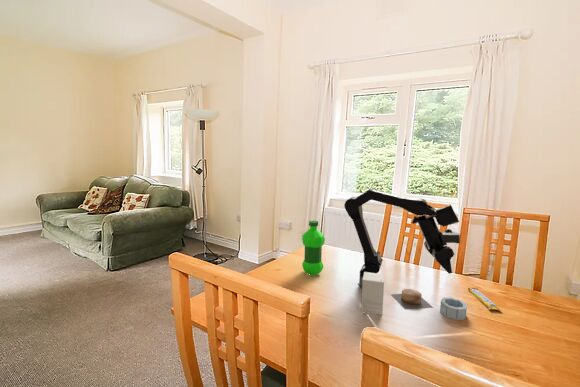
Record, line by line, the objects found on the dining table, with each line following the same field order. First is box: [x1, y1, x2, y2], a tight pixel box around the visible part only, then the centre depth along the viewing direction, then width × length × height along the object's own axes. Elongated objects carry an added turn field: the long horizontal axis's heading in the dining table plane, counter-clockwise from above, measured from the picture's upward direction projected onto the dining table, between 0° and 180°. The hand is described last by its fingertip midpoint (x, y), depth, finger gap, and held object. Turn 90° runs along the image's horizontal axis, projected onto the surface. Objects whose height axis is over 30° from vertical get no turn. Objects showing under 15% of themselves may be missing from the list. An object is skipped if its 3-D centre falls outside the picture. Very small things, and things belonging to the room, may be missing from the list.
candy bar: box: [467, 287, 503, 312], centre depth 112 cm, size 17×4×2 cm, turn 174°
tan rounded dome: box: [401, 288, 423, 305], centre depth 109 cm, size 7×7×3 cm
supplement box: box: [361, 272, 385, 316], centre depth 104 cm, size 7×7×13 cm
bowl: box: [439, 296, 468, 321], centre depth 101 cm, size 8×8×4 cm
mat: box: [390, 293, 434, 310], centre depth 110 cm, size 11×11×1 cm
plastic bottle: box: [301, 220, 326, 276], centre depth 133 cm, size 10×10×25 cm
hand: (446, 269), depth 107 cm, fingers open, 9 cm apart
